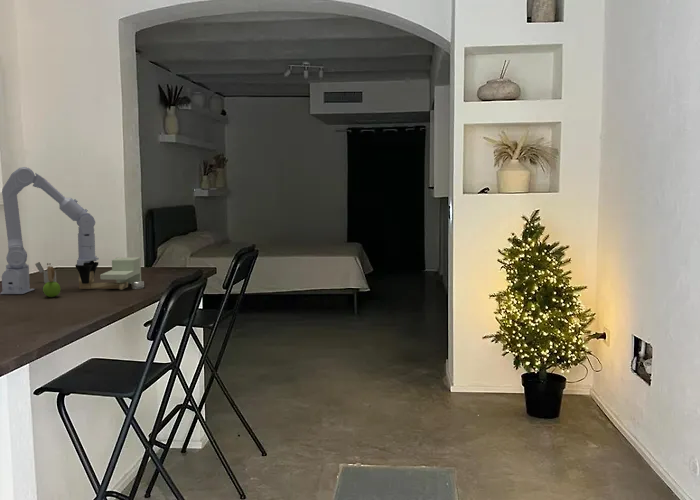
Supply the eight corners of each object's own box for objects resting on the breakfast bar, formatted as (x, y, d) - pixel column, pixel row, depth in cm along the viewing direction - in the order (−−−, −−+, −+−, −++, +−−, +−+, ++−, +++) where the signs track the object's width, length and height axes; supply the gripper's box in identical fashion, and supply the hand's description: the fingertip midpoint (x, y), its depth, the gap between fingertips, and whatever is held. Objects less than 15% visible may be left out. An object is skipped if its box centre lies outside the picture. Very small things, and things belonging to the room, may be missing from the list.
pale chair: (126, 291, 229) (125, 263, 228) (100, 291, 228) (100, 263, 228) (141, 282, 248) (140, 257, 247) (117, 282, 248) (117, 257, 247)
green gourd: (41, 299, 211) (39, 263, 210) (44, 296, 217) (43, 261, 216) (58, 298, 213) (57, 263, 211) (62, 295, 219) (60, 260, 218)
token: (142, 289, 234) (142, 282, 234) (130, 289, 234) (129, 282, 233) (145, 287, 238) (145, 280, 238) (133, 287, 238) (133, 280, 238)
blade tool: (122, 289, 232) (121, 273, 232) (77, 289, 231) (77, 273, 231) (128, 286, 239) (127, 270, 239) (84, 286, 238) (84, 270, 238)
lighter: (56, 281, 249) (55, 261, 249) (55, 282, 248) (54, 262, 247) (37, 282, 248) (36, 261, 247) (35, 282, 246) (34, 262, 246)
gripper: (90, 247, 227) (91, 285, 228) (104, 244, 241) (105, 279, 242) (70, 247, 226) (71, 285, 227) (85, 244, 241) (86, 279, 242)
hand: (87, 282), depth 235 cm, fingers closed on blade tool, 4 cm apart
